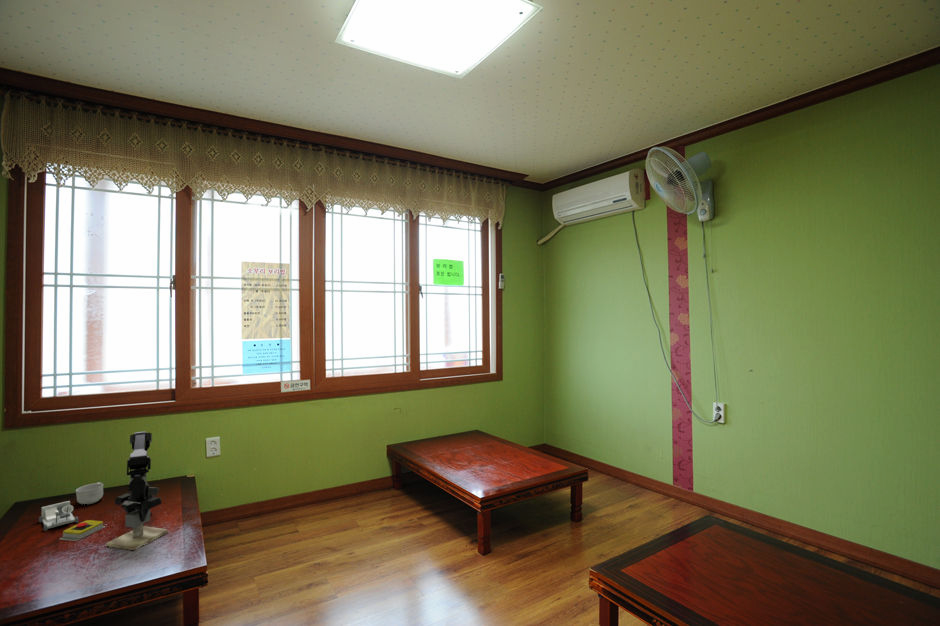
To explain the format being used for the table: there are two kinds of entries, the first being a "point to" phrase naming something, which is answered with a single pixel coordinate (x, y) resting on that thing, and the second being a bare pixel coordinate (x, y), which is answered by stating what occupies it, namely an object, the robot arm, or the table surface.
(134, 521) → the grey open bin
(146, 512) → the robot arm
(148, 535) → the switch plate
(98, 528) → the emergency button
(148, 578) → the table surface
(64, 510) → the white mechanical fixture
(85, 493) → the teacup
